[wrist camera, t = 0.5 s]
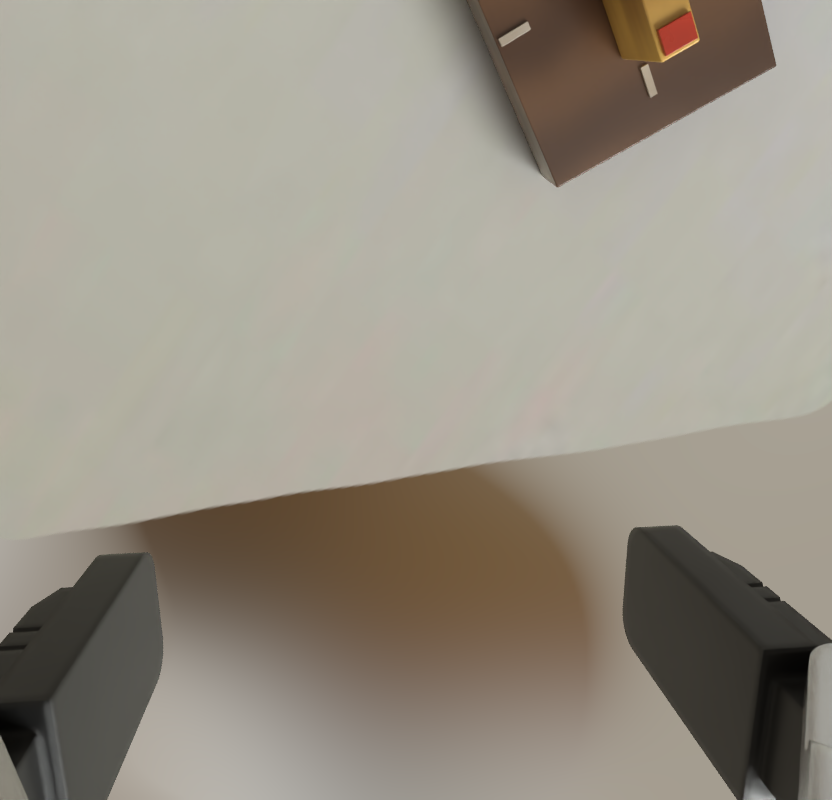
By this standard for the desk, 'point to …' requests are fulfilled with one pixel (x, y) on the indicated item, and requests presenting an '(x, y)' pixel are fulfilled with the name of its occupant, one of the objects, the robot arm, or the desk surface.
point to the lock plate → (610, 74)
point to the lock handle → (651, 28)
